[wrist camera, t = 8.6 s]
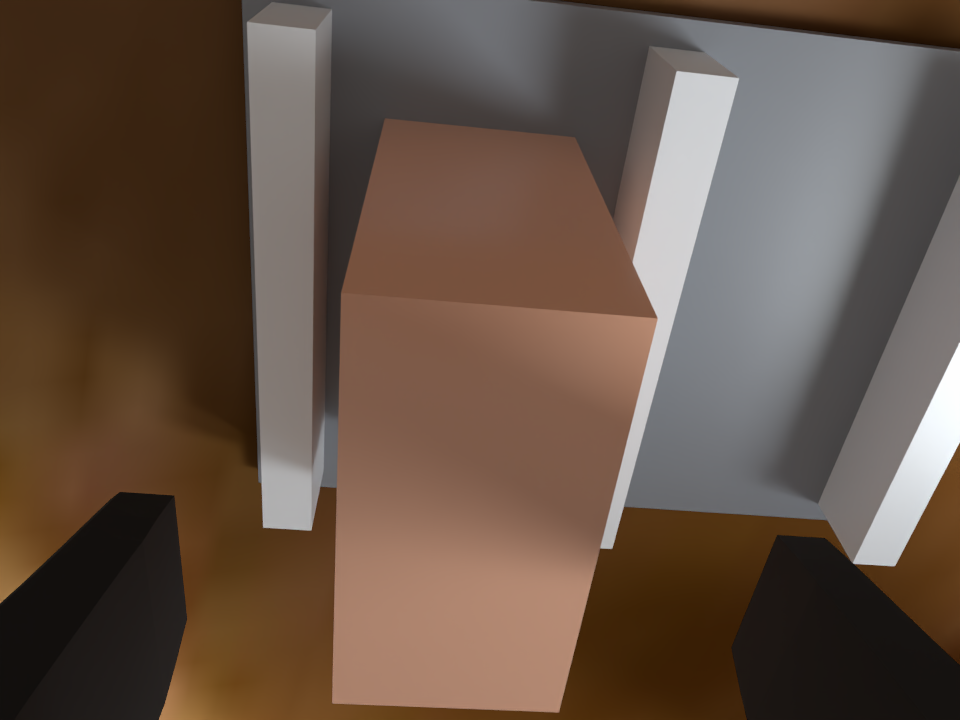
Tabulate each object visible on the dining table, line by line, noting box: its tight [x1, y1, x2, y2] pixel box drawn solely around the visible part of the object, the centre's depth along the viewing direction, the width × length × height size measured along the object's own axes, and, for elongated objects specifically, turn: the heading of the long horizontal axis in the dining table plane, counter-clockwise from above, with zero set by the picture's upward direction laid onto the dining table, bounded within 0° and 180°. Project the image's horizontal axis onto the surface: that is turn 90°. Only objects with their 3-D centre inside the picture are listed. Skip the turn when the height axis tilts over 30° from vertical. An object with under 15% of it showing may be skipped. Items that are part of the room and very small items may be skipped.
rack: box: [242, 0, 960, 566], centre depth 16 cm, size 15×11×2 cm
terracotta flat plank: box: [332, 118, 658, 712], centre depth 14 cm, size 4×7×7 cm, turn 174°
